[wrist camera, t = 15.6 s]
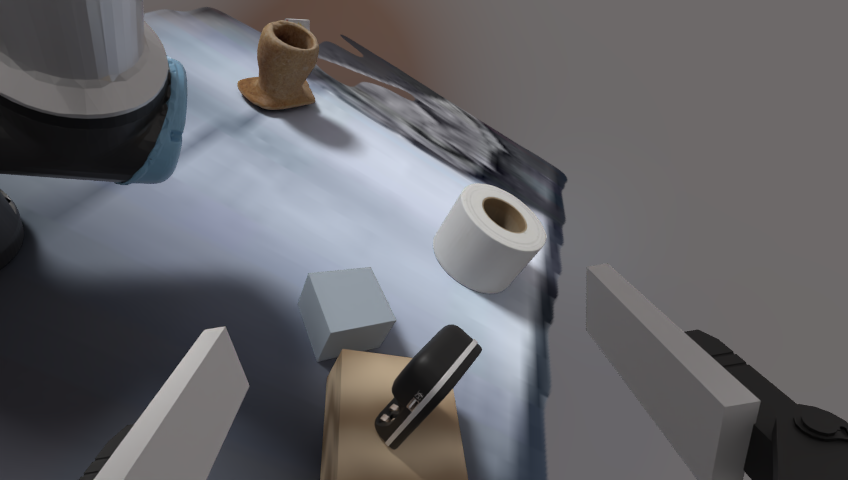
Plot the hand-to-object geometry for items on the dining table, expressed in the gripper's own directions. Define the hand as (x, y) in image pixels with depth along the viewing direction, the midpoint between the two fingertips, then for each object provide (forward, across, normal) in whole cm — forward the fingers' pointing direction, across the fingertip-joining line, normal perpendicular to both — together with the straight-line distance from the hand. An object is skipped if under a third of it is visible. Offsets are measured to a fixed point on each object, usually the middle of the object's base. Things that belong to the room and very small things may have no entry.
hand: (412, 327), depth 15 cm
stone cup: (+75, -23, +6) cm, 79 cm away
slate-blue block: (+30, -11, -19) cm, 37 cm away
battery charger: (+17, -4, -21) cm, 27 cm away
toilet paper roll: (+51, +9, -23) cm, 57 cm away
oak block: (+19, -7, -26) cm, 33 cm away
